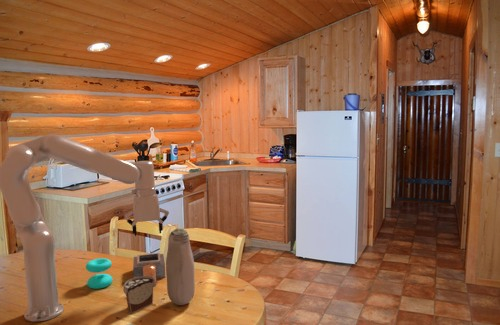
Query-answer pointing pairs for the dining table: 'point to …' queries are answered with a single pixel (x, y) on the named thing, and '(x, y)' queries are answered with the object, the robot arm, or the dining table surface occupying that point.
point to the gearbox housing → (149, 259)
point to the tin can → (150, 272)
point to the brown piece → (139, 292)
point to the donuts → (99, 279)
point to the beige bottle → (180, 268)
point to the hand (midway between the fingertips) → (148, 233)
